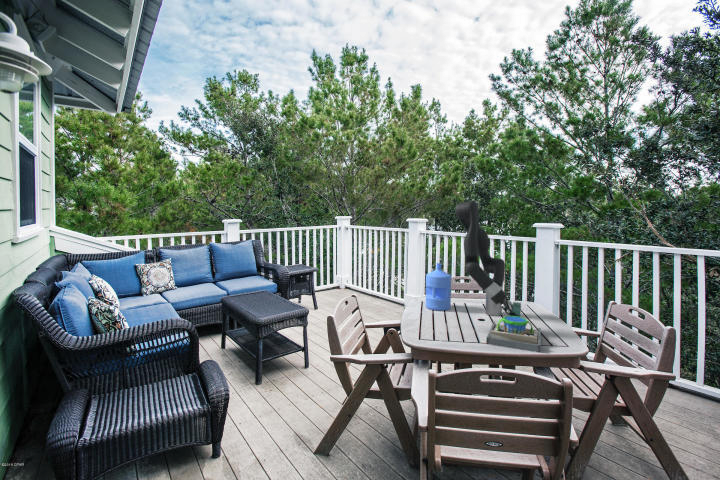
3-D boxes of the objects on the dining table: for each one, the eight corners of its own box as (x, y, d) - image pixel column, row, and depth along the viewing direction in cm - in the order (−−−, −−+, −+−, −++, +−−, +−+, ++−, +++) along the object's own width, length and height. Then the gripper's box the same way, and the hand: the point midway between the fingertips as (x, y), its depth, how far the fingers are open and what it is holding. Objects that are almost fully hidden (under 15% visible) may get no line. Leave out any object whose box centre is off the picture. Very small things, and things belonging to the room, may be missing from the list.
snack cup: (530, 337, 175) (531, 317, 174) (534, 345, 165) (534, 323, 164) (496, 334, 180) (496, 314, 179) (497, 341, 170) (498, 320, 169)
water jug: (431, 303, 240) (432, 261, 238) (454, 306, 231) (455, 263, 229) (421, 308, 228) (421, 264, 225) (444, 312, 218) (445, 266, 216)
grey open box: (495, 327, 189) (496, 300, 188) (537, 333, 181) (538, 304, 180) (490, 341, 169) (491, 311, 168) (536, 349, 160) (538, 316, 159)
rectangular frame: (493, 327, 190) (493, 322, 190) (540, 334, 180) (540, 328, 180) (486, 343, 167) (486, 337, 167) (540, 352, 157) (540, 345, 157)
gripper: (499, 291, 179) (524, 317, 175) (502, 285, 192) (525, 310, 187) (487, 300, 182) (511, 326, 177) (491, 294, 194) (513, 318, 190)
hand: (518, 317), depth 182 cm, fingers open, 8 cm apart
